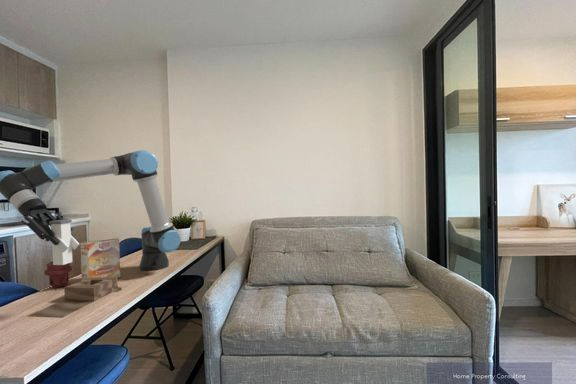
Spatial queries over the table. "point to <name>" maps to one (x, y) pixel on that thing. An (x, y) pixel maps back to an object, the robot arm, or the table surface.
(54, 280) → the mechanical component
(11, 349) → the table surface
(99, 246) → the coffeecake box
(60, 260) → the post
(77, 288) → the wooden socket base
